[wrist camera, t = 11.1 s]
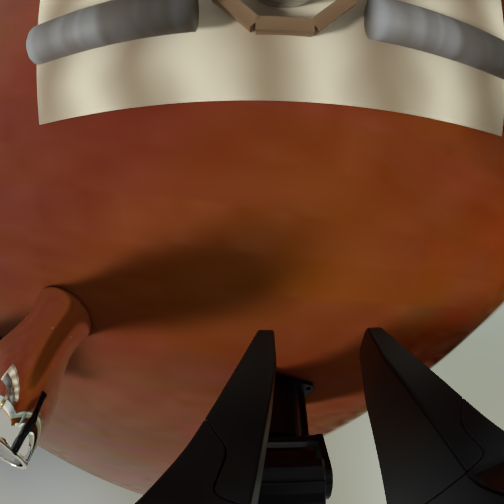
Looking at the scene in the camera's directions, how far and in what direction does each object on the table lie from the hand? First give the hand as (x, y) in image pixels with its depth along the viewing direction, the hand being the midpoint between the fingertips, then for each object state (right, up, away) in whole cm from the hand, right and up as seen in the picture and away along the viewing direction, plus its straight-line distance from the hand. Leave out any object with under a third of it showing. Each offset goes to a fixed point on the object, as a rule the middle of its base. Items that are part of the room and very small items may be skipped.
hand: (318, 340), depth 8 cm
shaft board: (0, +17, +6) cm, 18 cm away
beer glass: (-19, -3, +17) cm, 26 cm away
